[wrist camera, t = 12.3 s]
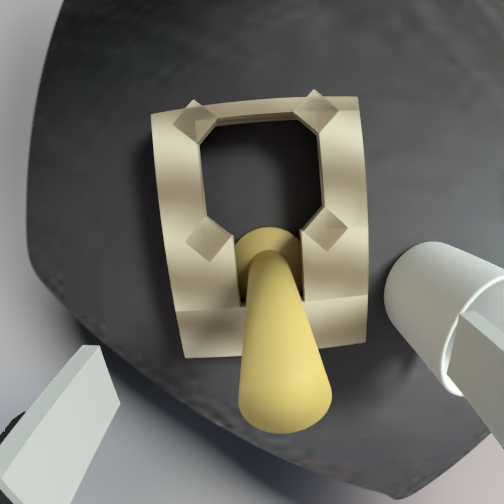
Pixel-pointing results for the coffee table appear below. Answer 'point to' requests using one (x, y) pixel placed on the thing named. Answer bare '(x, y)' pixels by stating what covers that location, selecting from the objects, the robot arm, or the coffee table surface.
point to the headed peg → (277, 336)
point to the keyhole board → (222, 243)
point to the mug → (441, 300)
